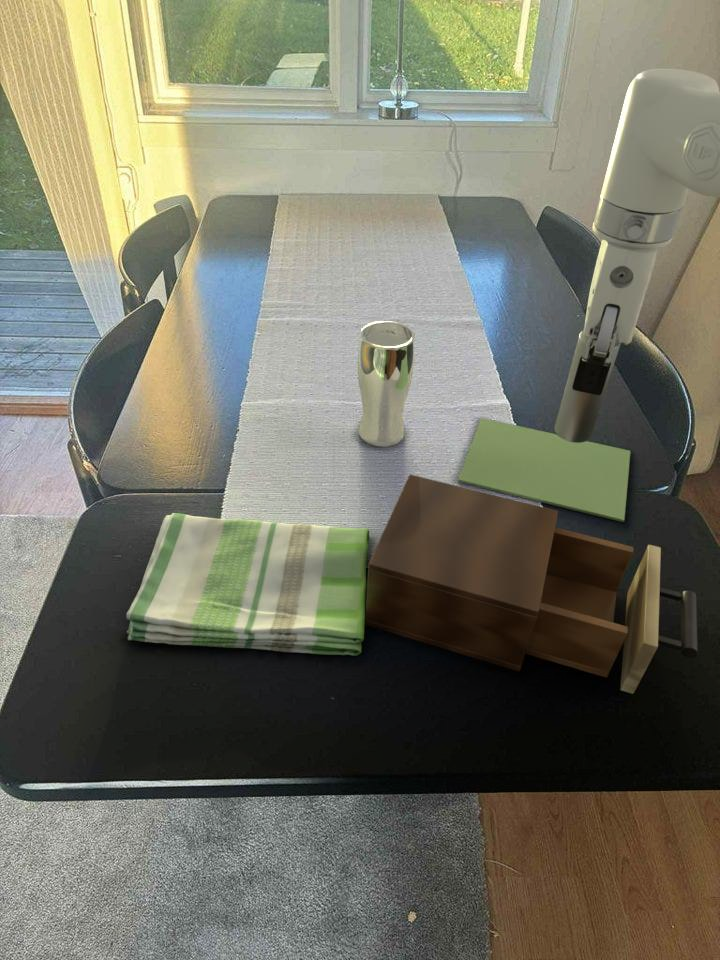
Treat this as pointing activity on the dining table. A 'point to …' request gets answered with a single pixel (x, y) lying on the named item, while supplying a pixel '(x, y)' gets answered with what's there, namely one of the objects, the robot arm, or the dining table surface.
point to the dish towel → (253, 586)
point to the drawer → (605, 609)
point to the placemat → (548, 469)
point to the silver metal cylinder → (580, 400)
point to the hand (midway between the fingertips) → (589, 377)
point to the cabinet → (461, 571)
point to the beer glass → (384, 380)
